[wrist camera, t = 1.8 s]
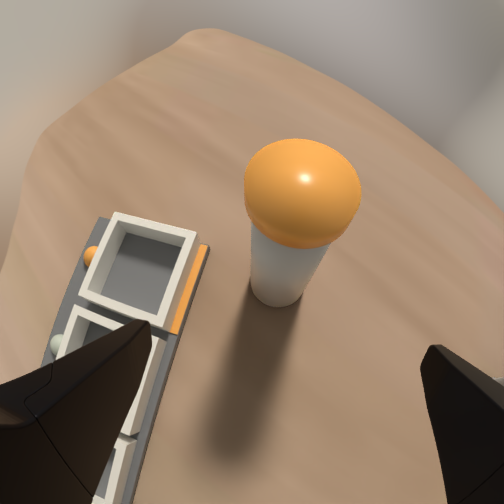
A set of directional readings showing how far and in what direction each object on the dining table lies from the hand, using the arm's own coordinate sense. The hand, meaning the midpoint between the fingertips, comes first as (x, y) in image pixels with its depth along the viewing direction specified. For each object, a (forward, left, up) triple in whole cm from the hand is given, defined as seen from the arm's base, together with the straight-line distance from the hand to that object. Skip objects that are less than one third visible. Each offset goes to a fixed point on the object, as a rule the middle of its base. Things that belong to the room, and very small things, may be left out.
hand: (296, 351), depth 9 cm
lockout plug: (+6, +1, -12) cm, 14 cm away
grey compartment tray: (-4, +11, -12) cm, 17 cm away
